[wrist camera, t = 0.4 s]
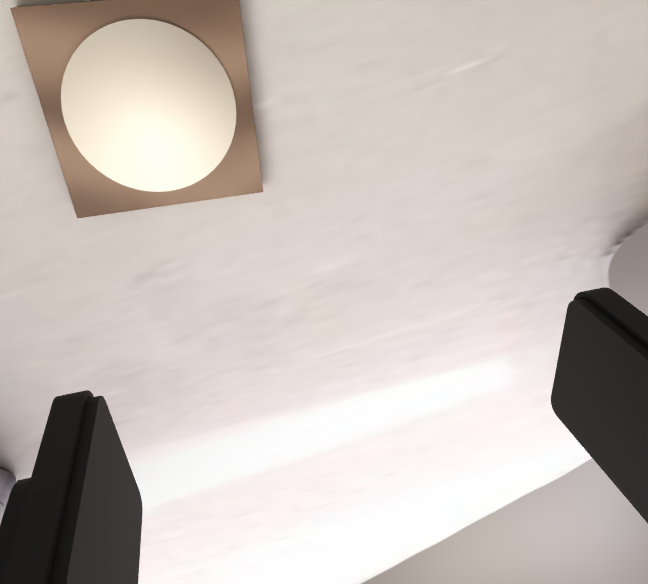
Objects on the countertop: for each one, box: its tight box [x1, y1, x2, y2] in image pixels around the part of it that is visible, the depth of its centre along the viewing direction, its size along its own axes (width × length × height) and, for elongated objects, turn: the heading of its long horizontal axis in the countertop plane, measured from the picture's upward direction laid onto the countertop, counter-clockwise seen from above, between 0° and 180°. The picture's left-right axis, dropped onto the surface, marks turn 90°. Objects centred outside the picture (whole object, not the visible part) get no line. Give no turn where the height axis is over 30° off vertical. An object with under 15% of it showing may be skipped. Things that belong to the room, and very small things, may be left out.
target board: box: [10, 0, 263, 218], centre depth 34 cm, size 12×12×1 cm
